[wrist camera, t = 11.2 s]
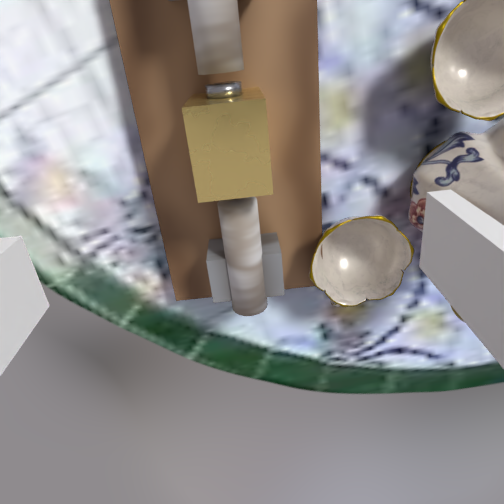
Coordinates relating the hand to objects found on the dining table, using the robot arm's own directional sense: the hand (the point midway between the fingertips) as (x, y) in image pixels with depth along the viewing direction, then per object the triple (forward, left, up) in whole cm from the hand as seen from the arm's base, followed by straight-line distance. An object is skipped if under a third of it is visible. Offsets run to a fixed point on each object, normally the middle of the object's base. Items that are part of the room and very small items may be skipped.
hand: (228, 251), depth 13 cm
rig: (0, 0, -22) cm, 23 cm away
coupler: (0, 0, -20) cm, 21 cm away
